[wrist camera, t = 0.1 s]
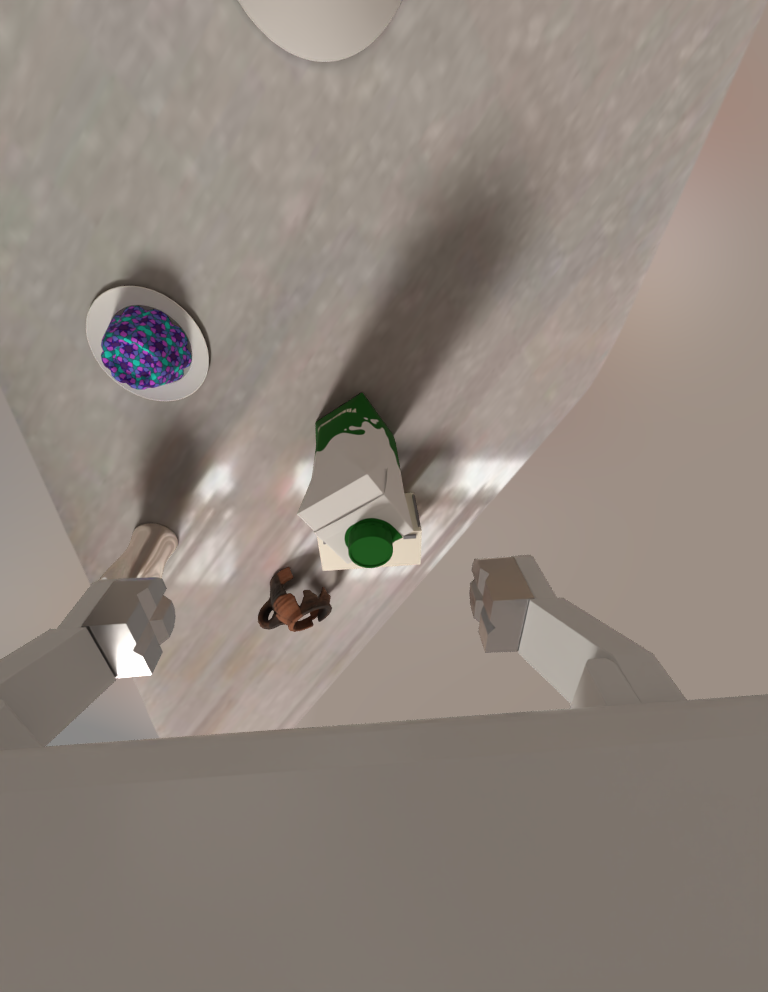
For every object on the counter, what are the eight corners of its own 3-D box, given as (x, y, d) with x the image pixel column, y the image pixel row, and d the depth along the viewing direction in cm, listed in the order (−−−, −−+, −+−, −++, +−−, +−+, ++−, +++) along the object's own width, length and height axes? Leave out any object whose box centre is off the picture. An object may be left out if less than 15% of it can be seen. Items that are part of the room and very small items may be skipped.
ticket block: (320, 496, 57) (316, 537, 51) (413, 490, 58) (422, 530, 51) (325, 530, 61) (322, 572, 55) (413, 525, 62) (420, 566, 55)
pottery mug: (300, 553, 65) (321, 598, 61) (325, 568, 73) (346, 608, 69) (237, 596, 65) (254, 644, 61) (270, 605, 73) (286, 648, 69)
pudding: (226, 326, 44) (213, 341, 40) (191, 415, 50) (177, 437, 45) (102, 257, 39) (72, 266, 35) (80, 365, 45) (52, 383, 41)
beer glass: (191, 546, 62) (153, 633, 50) (153, 561, 63) (107, 650, 51) (158, 513, 58) (108, 600, 46) (118, 530, 59) (59, 618, 47)
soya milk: (347, 470, 55) (345, 586, 39) (304, 419, 50) (282, 528, 34) (403, 437, 53) (426, 547, 37) (363, 380, 48) (370, 478, 32)
